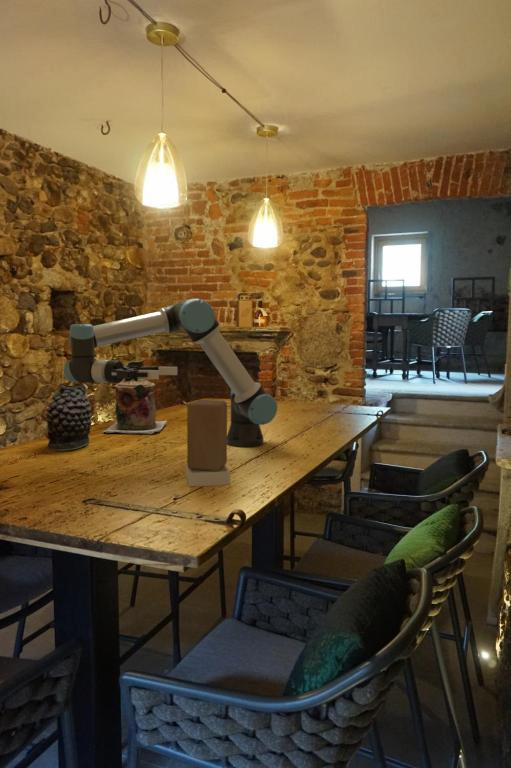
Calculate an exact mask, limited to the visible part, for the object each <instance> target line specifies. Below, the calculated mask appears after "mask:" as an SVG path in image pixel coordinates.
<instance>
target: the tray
mask: <svg viewBox="0 0 511 768" xmlns="http://www.w3.org/2000/svg"><path fill="white" fill-rule="evenodd" d="M185 476H186V480H187V483H188V485H190V486H196V487H210V486H211V487H212V486H230V485H231V471H230V469H229V467H228V466H227V464H225V465H224V466H223V467H222V468H221V469H219V470H218V471H206V470H192V469H188V466H187V463H185ZM190 486H189V487H190Z"/></svg>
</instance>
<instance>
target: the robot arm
mask: <svg viewBox="0 0 511 768" xmlns="http://www.w3.org/2000/svg"><path fill="white" fill-rule="evenodd" d="M219 329H220V323H219V321H218V320H217V318H216V314H215V310H214V308H213V306H212V305H211V304H210V303H208V302H207V301H206V300H203V299H202V298H201V299H200V298H190V299H187V300H186V299H185V300H182V301H179V302H177V303H175V304H171V305H168V306H165V307H161V308H160V309H159V311H155V312H150V313H146V314H142V315H137V316H133V317H128V318H124V319H123V318H122V319H118V320H115V321H110V322H106V323H101V324H97V325H93V324H90V323H83V324H81V323H80V324H77V323H75V324H74V323H73V324H70V326H69V334H68V335H67V344H68V346H69V347H70V356H71V357H70V359H68V360H67V361H66V362H65V363H64V368H63V375H64V377H65V379H66V380H68V381H69V382H73V383H79V384H82V383H84V384H86V383H96V384H98V383H100V385H104V384H108V383H109V384H118V383H120V382H122V381H123V380H124V379H130V380H132V379H134V381H138V377H139V379H146V380H160V376H178V366H161V364H157V366H155V365H154V366H152V365H151V366H144V367H139V366H127V365H124V363H123V362H122V360H111V359H110V360H109V359H96V358H95V357H96V356H95V348H97V347H103V346H106V345H111V344H115V343H119V342H125V341H128V340H133V339H137V338H141V337H145V336H151V335H153V334H158V333H162V332H163V333H166V334H170V333H176V332H177V333H178V332H185V333H186V335H187V336H188V337H189V339H190V340H191V342H192V343H193V344H198V345H199V346H200V347H201V348H202V350H203V351H204V353H205V355H207V357H208V358H209V360H210V361H211V362H212V363H211V364H213V366H214V367H215V369H216V370H217V371H218V372H219V374H220V376H221V377H222V378H223V380H224V381H225V383H226V384H227V385H228V387H229V388H230V425H229V429H228V430H227V446H228V445H229V446H232V447H240V448H241V447H243V448H248V447H249V448H251V447H259V446H261V445H264V435H263V433H262V429H261V426H263V425H267V424H269V423H270V422H272V421H273V420H274V418H275V417H276V416H277V412H278V404H277V400H276V399H275V398H274V397H273V396H272V395H271V394H268V393H267V392H266V390H265V389H264V387H263V386H262V384H261V382H255V381H254V380H253V377H251V375H250V374H249V372H248V370H247V369H246V368H245V366H244V365H243V363H242V362H241V360H240V359H239V358H238V356H237V355H236V353H235V352H234V351H233V349H232V348H231V347H230V345H229V343H228V341H226V339H225V338H224V336H223V335H222V334H221V332H220V330H219Z"/></svg>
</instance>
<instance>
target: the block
mask: <svg viewBox="0 0 511 768" xmlns="http://www.w3.org/2000/svg"><path fill="white" fill-rule="evenodd" d="M186 407H187V409H186V411H187V413H186V414H187V417H186V418H187V420H186V421H187V422H186V423H187V425H186V426H187V427H186V428H187V429H186V430H187V433H186V435H187V436H186V437H187V439H186V440H187V442H186V443H187V446H186V447H187V450H186V451H187V454H186V455H187V458H186V460H187V461H186V464H187V466H188V469H192V470H206V471H218V470H219V469H221V468H222V467H223V466H224V465H227V461H228V460H227V459H228V458H227V457H228V448H227V446H228V444H227V434H228V403H227V402H226V401H225V400H208V399H207V400H206V399H205V400H204V399H203V400H202V399H199V400H196V401H193V402H191V403H188V404H187V406H186Z"/></svg>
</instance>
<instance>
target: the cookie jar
mask: <svg viewBox="0 0 511 768" xmlns="http://www.w3.org/2000/svg"><path fill="white" fill-rule="evenodd" d="M144 361H145V359H141V360H137V361H135V360H134V361H133V360H132V361H130V362H127V364H126V366H139V367H145V364H144ZM155 388H156V384H155V383H153V382H150V381H149V380H148V379H139V377H138V381H134V379H132V380H130V379H123V380H122V382H120V383H115V385H114V389H115V392H116V393H115V410H114V413H115V418H116V421H115V422H114V423H113V424H112V425H110V426H109V427H107V429H105V430H102V434H105V433H108V434H110V433H121V434H146V435H147V434H148V435H152V434H154V433H156V432H157V433H159V432H160V431H161V430H162V429H163V428H164V426H166V424H167V422H168V420H163V421H161V420H160V421H157V420H156V417H157V407H156V398H155V393H154V391H155ZM104 432H105V433H104Z"/></svg>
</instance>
